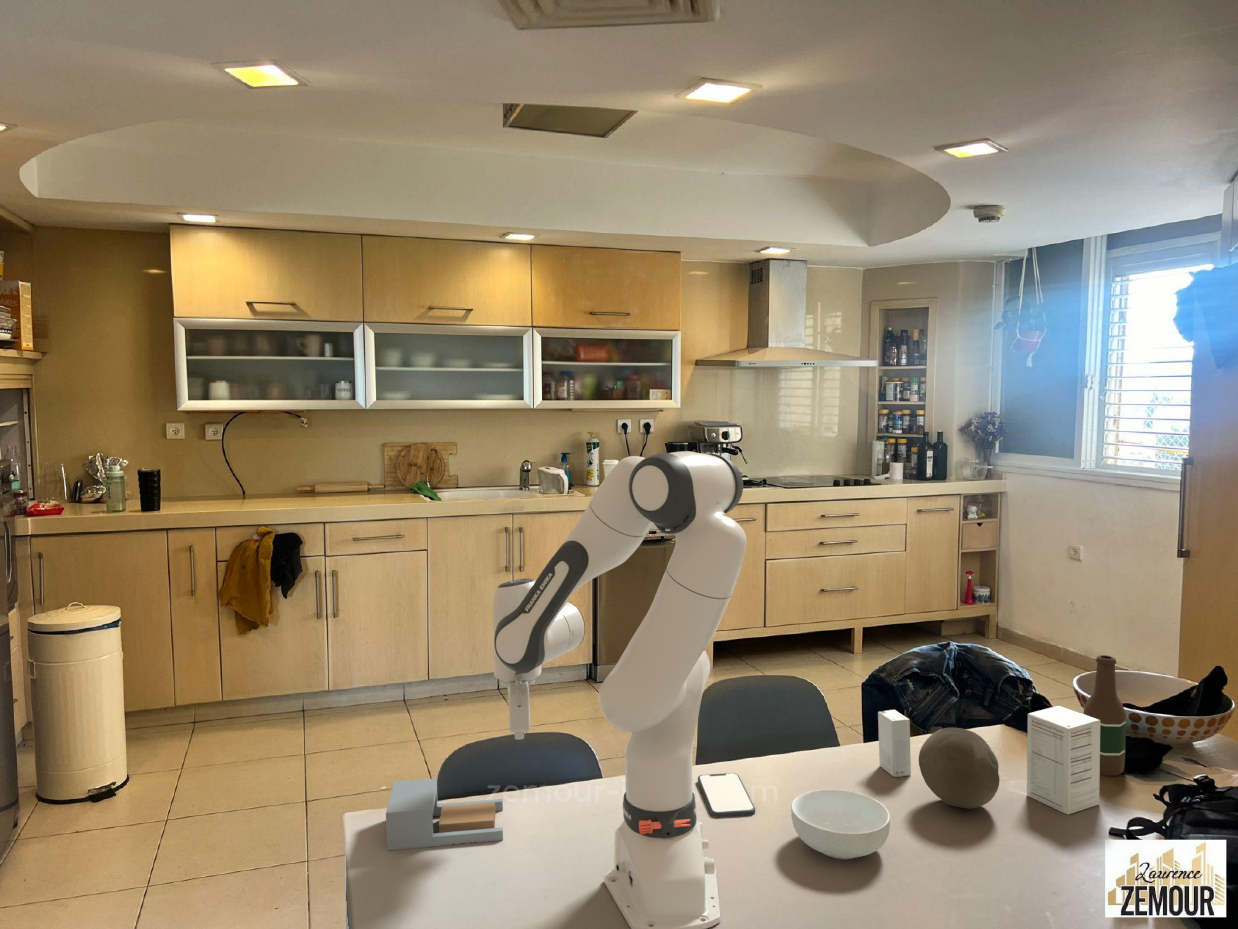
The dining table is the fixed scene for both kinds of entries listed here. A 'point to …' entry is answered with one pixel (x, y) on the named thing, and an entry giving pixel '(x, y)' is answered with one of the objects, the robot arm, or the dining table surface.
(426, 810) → the grey u-shaped frame
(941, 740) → the cantaloupe
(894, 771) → the skincare box
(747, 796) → the smartphone
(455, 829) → the tan cardboard slab
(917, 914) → the dining table surface
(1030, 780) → the supplement box
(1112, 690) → the beer bottle
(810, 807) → the cereal bowl
